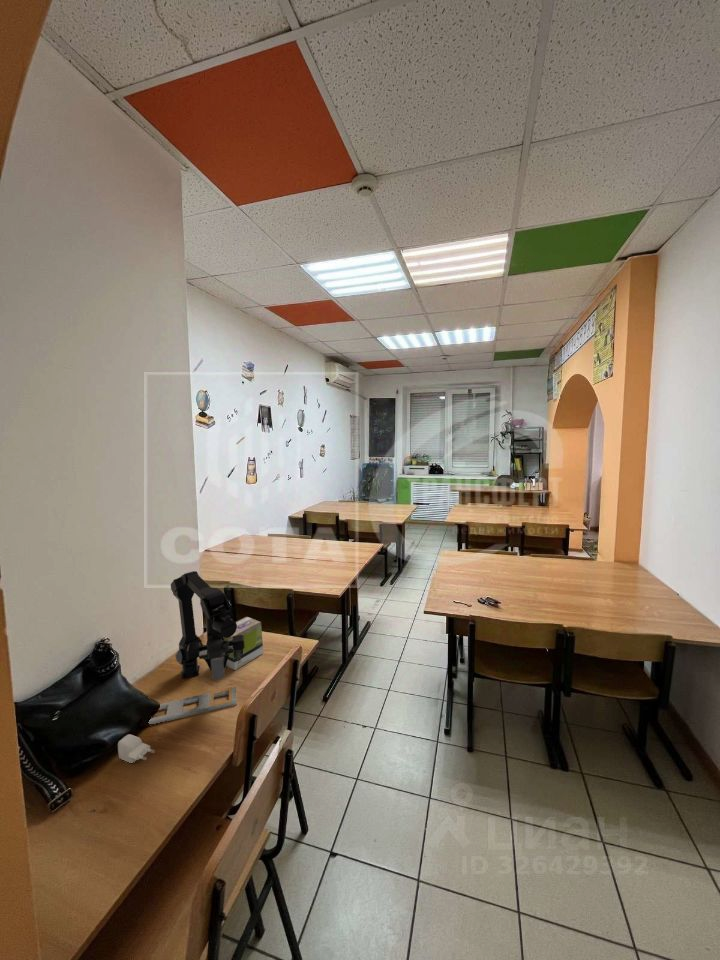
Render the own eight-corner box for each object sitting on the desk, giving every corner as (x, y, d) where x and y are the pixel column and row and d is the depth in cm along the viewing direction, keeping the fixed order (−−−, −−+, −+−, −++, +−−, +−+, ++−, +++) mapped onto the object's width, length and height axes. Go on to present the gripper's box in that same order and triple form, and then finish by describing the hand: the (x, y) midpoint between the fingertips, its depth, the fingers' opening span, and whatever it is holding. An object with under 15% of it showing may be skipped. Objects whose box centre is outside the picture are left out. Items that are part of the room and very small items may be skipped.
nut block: (212, 673, 135) (211, 655, 134) (224, 670, 136) (223, 652, 135) (212, 680, 131) (210, 661, 130) (224, 677, 132) (223, 658, 132)
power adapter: (158, 759, 111) (156, 741, 110) (143, 773, 106) (141, 754, 106) (131, 748, 115) (130, 731, 114) (116, 761, 111) (114, 743, 110)
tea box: (249, 646, 170) (247, 615, 169) (263, 653, 164) (262, 621, 163) (219, 663, 158) (217, 629, 156) (234, 671, 152) (232, 636, 151)
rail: (145, 711, 131) (144, 706, 131) (235, 690, 141) (235, 686, 140) (140, 727, 123) (139, 723, 123) (236, 704, 133) (236, 700, 133)
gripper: (183, 644, 121) (186, 689, 123) (243, 633, 127) (246, 676, 129) (186, 627, 132) (190, 669, 134) (242, 618, 138) (245, 658, 139)
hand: (218, 669), depth 134 cm, fingers closed on nut block, 4 cm apart
